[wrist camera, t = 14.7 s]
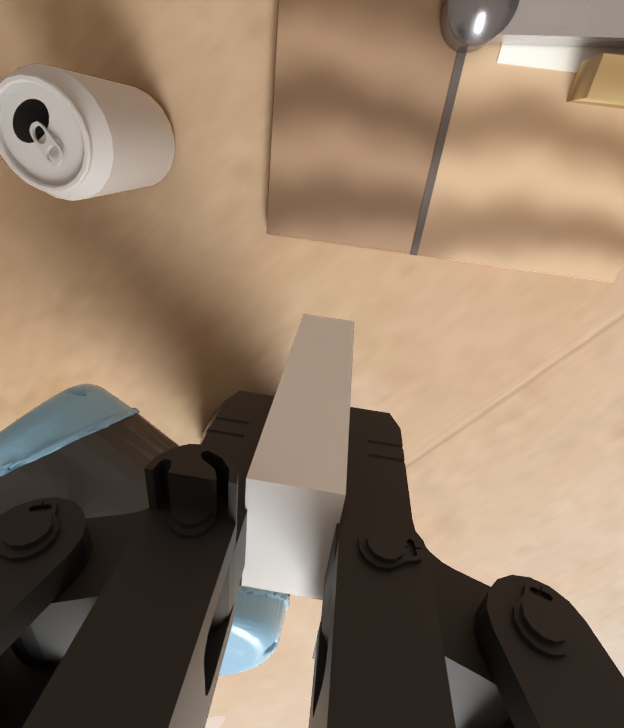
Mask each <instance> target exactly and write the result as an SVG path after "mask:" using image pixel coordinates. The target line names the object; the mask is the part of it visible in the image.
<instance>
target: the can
mask: <svg viewBox="0 0 624 728" xmlns="http://www.w3.org/2000/svg"><path fill="white" fill-rule="evenodd" d="M0 155H1V156H2V158H3V159H4V160H5V162H6V163H7V164H8V166H9V167H10V168H11V170H12V171H13V172H15V173H16V174H17V175H18V176H19V177H20V178H21V179H23V180H24V181H25V182H26V183H28V184H30V185H32V186H34V187H36V188H37V189H39V190H42V191H44V192H46V193H48V194H50V195H52V196H54V197H56V198H60V199H65V200H71V201H76V200H82V199H88V198H93V197H98V196H103V195H108V194H113V193H118V192H123V191H128V190H133V189H138V188H143V187H149V186H153V185H155V184H156V183H158V182H159V181H161V180H163V179H164V177H165V176H166V175H167V173H168V172H169V170H170V169H171V166H172V162H173V159H174V156H175V139H174V135H173V132H172V128H171V124H170V122H169V120H168V118H167V116H166V115H165V113H164V111H163V109H162V108H161V106H160V105H159V104H158V103H157V102H156V101H155V100H154V99H153V98H152V97H151V96H150V95H148V94H147V93H145V92H143V91H142V90H140V89H138V88H136V87H133V86H129V85H125V84H121V83H117V82H113V81H109V80H105V79H101V78H97V77H93V76H89V75H86V74H82V73H78V72H74V71H70V70H66V69H62V68H58V67H53V66H48V65H42V64H37V63H35V64H31V65H27V66H23V67H19V68H18V69H17V70H15V71H14V72H13V73H12V74H11V75H9V76H6V77H5V78H4V79H3V80H2V81H0Z"/></svg>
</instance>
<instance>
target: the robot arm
mask: <svg viewBox="0 0 624 728" xmlns="http://www.w3.org/2000/svg"><path fill="white" fill-rule="evenodd" d="M353 338H354V321H348V320H341V319H334V318H328V317H321V316H314V315H308V314H303V317H302V320H301V323H300V326H299V329H298V331H297V334H296V337H295V340H294V343H293V346H292V349H291V351H290V354H289V357H288V360H287V363H286V366H285V369H284V371H283V374H282V377H281V380H280V383H279V386H278V388H277V391H276V394H275V397H274V396H268V395H262V394H256V393H249V392H243V391H238V392H237V393H236V394H234V395H233V396H231V397H230V398H229V399H227V400H226V401H225V402H224V403H223V404H222V406H221V408H220V409H219V410H218V411H217V412H216V413H215V414H214V415H213V417H212V418H211V420H210V421H209V423H208V425H207V427H206V429H205V430H204V433H203V435H202V438H201V442H200V444H188V445H183V446H179V445H177V444H176V443H175V442H174V441H172V440H171V439H170V438H168V437H167V436H166V435H165V434H163V433H162V432H161V431H160V430H158V429H157V428H156V427H155V426H153V425H152V424H151V423H149V422H148V421H147V420H146V419H144V418H143V417H142V416H141V415H139V414H138V413H139V412H140V411H139V410H138V409H136V408H131V407H129V406H128V405H127V404H125V403H124V402H122V401H121V400H119V399H118V398H117V397H115V396H114V395H112V394H111V393H109V392H108V391H107V390H105V389H104V388H102V387H100V386H97V385H93V384H81V385H77V386H73V387H71V388H68V389H66V390H64V391H62V392H60V393H59V394H57V395H55V396H53V397H52V398H50V399H48V400H47V401H45V402H44V403H42V404H40V405H39V406H37V407H36V408H34V409H33V410H31V411H30V412H28V413H27V414H25V415H24V416H22V417H21V418H19V419H18V420H16V421H15V422H14V423H12V424H11V425H9V426H8V427H6V428H5V429H4V430H2V431H1V432H0V728H204V727H205V724H206V721H207V717H208V713H209V709H210V706H211V702H212V698H213V695H214V691H215V687H216V683H217V680H218V676H221V675H230V674H236V673H240V672H244V671H247V670H250V669H252V668H254V667H256V666H258V665H260V664H262V663H263V662H264V661H265V660H267V659H268V658H269V657H270V656H271V655H272V653H273V652H274V650H275V649H276V647H277V645H278V642H279V639H280V634H281V630H282V626H283V621H284V617H285V613H286V610H287V609H288V607H289V604H290V603H289V600H290V599H289V596H290V594H292V595H297V596H303V597H308V598H314V599H319V600H323V605H322V616H321V622H320V626H319V631H318V635H317V640H316V644H315V648H314V653H313V657H312V658H313V659H315V666H314V676H313V687H312V697H311V708H310V718H309V728H624V677H623V676H622V674H621V673H620V671H619V670H618V668H617V667H616V665H615V664H614V662H613V661H612V659H611V658H610V657H609V655H608V654H607V652H606V651H605V649H604V648H603V646H602V645H601V643H600V642H599V640H598V639H597V637H596V636H595V634H594V633H593V631H592V630H591V628H590V627H589V625H588V624H587V622H586V621H585V620H584V619H583V617H582V616H581V615H580V614H579V613H578V611H577V610H576V609H575V608H574V607H573V606H572V604H571V603H570V602H569V601H568V600H566V599H565V598H564V597H563V596H561V595H560V594H559V593H557V592H556V591H555V590H553V589H552V588H551V587H549V586H547V585H545V584H543V583H541V582H539V581H536V580H534V579H532V578H530V577H523V576H516V575H510V576H507V577H503V578H500V579H497V580H496V582H495V583H494V584H493V585H492V587H490V586H488V585H486V584H484V583H482V582H479V581H477V580H475V579H473V578H471V577H469V576H467V575H465V574H463V573H461V572H459V571H456V570H454V569H453V568H451V567H449V566H448V565H446V564H444V563H443V562H441V561H440V560H439V559H438V558H436V557H435V556H434V555H433V554H432V553H430V551H429V550H428V549H427V548H426V547H425V544H424V541H423V540H422V539H421V537H420V536H419V535H418V534H417V532H416V531H415V528H414V524H413V520H412V513H411V506H410V498H409V491H408V483H407V475H406V468H405V463H404V452H403V449H402V446H403V445H402V437H401V430H400V428H399V426H398V425H397V423H396V422H395V420H394V419H393V418H392V416H391V415H390V413H385V412H378V411H372V410H366V409H359V408H353V407H350V398H351V378H352V358H353Z"/></svg>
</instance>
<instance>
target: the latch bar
mask: <svg viewBox="0 0 624 728" xmlns="http://www.w3.org/2000/svg"><path fill="white" fill-rule="evenodd" d="M440 30H441V34H442V37H443V39H444V41H445V43H446V44H447V45H448V46H449V47H450V48H451V49H452V50H454V51H456V52H459V53H470V52H474V51H476V50H478V49H480V48H482V47H483V46H484V45H486V44H493V45H528V46H562V47H597V48H624V0H445V1H444V4H443V6H442V10H441V14H440Z"/></svg>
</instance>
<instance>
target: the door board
mask: <svg viewBox="0 0 624 728" xmlns="http://www.w3.org/2000/svg"><path fill="white" fill-rule="evenodd" d="M444 1H445V0H279V12H278V30H277V49H276V67H275V86H274V104H273V123H272V141H271V160H270V178H269V197H268V215H267V234H270V235H277V236H284V237H291V238H298V239H306V240H313V241H320V242H327V243H334V244H341V245H348V246H355V247H362V248H369V249H376V250H383V251H390V252H398V253H405V254H410V255H419V256H426V257H433V258H440V259H447V260H454V261H461V262H468V263H475V264H483V265H490V266H497V267H504V268H511V269H518V270H525V271H532V272H539V273H546V274H553V275H560V276H567V277H575V278H582V279H589V280H596V281H603V282H610V283H613V282H614V280H615V278H616V276H617V274H618V272H619V270H620V268H621V266H622V264H623V262H624V48H597V47H562V46H528V45H493V44H486V45H484V46H483V47H482V48H480V49H478V50H476V51H474V52H470V53H459V52H456V51H454V50H452V49H451V48H450V47H449V46H448V45H447V44H446V43H445V41H444V39H443V37H442V34H441V30H440V14H441V10H442V6H443V4H444Z"/></svg>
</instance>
